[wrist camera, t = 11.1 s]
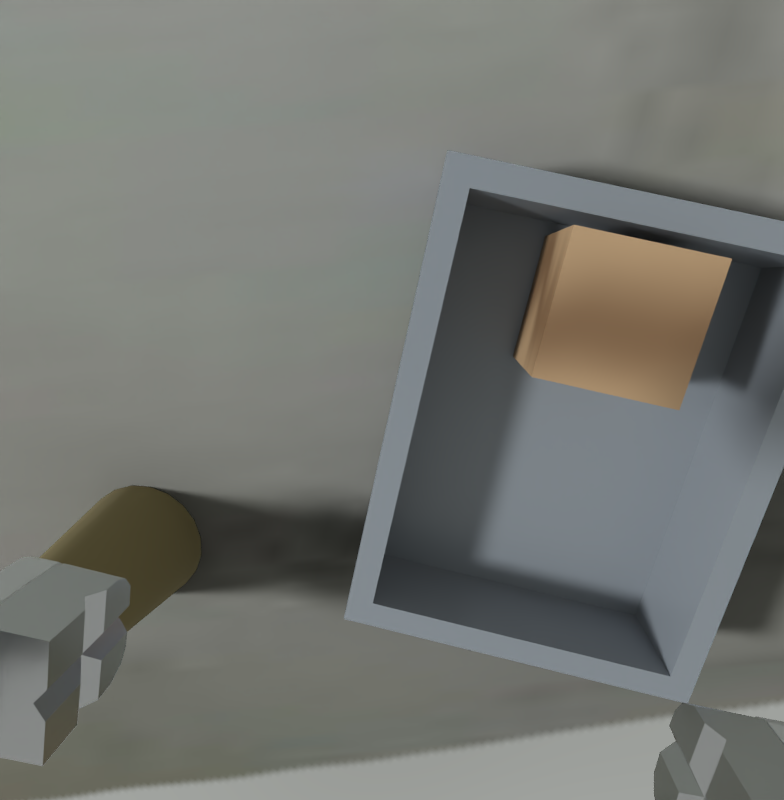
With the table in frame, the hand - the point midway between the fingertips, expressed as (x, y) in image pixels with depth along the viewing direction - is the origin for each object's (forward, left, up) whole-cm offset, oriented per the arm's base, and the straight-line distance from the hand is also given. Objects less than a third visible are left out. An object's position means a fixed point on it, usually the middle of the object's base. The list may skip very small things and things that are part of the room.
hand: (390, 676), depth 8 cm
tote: (-1, +6, -18) cm, 19 cm away
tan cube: (-6, +6, -17) cm, 18 cm away
